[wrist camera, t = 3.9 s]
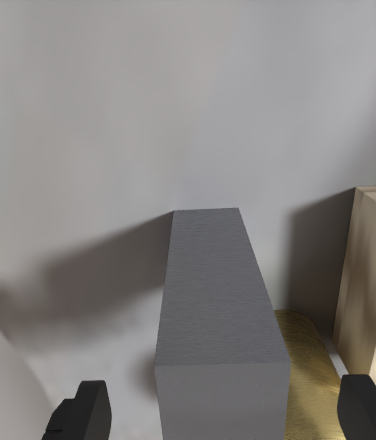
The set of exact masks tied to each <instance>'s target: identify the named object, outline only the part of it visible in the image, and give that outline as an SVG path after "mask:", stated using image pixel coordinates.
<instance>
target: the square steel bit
mask: <svg viewBox="0 0 376 440" xmlns="http://www.w3.org/2000/svg"><path fill="white" fill-rule="evenodd" d="M290 371H291V360H290V357H289V354H288V351H287V348H286V345H285V342H284V339H283V336H282V334H281V331H280V328H279V325H278V322H277V319H276V316H275V313H274V310H273V307H272V304H271V301H270V299H269V296H268V293H267V290H266V287H265V284H264V281H263V278H262V275H261V272H260V269H259V266H258V264H257V261H256V258H255V255H254V252H253V249H252V246H251V243H250V240H249V237H248V234H247V232H246V229H245V226H244V223H243V220H242V217H241V214H240V211H239V208H223V209H201V210H179V211H174V213H173V221H172V229H171V237H170V244H169V252H168V260H167V268H166V275H165V283H164V291H163V299H162V307H161V314H160V322H159V330H158V338H157V346H156V353H155V361H154V372H155V380H156V387H157V395H158V403H159V411H160V418H161V426H162V434H163V440H284V433H285V422H286V412H287V402H288V391H289V381H290Z"/></svg>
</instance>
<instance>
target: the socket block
mask: <svg viewBox="0 0 376 440" xmlns="http://www.w3.org/2000/svg"><path fill="white" fill-rule="evenodd" d="M332 342H333V344H334V346H335V348H336V350H337V352H338V354H339V356H340V358H341V360H342V362H343V363H344V365H345V367H346V369H347V371H348V373H349V374H368V375H369V376H370V377H371V378H372V380H373V382H374V383H375V385H376V186H368V187H356V189H355V196H354V202H353V208H352V215H351V221H350V227H349V234H348V240H347V246H346V253H345V259H344V266H343V272H342V278H341V285H340V291H339V297H338V304H337V310H336V316H335V323H334V329H333V335H332Z"/></svg>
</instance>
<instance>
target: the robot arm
mask: <svg viewBox="0 0 376 440" xmlns="http://www.w3.org/2000/svg"><path fill="white" fill-rule="evenodd" d="M337 415H338V420H339V424H340V427H341V429H342V431H343V434H344V436H345V439H346V440H376V385H375V383H374V382H373V380H372V378H371V377H370V376H369V375H368V374H348V375H343V376H342V379H341V385H340V391H339V397H338V402H337ZM111 419H112V414H111V407H110V402H109V397H108V392H107V387H106V383H105V381H104V380H96V381H82V382H81V383H80V385H79V388H78V390H77V393H76V396H75V398H74V399H64V400H63V401H62V403H61V404H60V405H59V406H58V407H57V409H56V410H55V411H54V412H53V413H52V416H51V418H50V421H49V423H48V425H47V428H46V432H45V434H44V435H43V437H42V440H108V438H109V434H110V429H111Z"/></svg>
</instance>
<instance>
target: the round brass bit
mask: <svg viewBox="0 0 376 440" xmlns="http://www.w3.org/2000/svg"><path fill="white" fill-rule="evenodd" d="M274 313H275V316H276V319H277V322H278V325H279V328H280V331H281V334H282V336H283V339H284V342H285V345H286V348H287V351H288V354H289V357H290V360H291V371H290V381H289V391H288V402H287V412H286V422H285V433H284V440H346V439H345V436H344V434H343V431H342V429H341V427H340V424H339V420H338V415H337V402H338V397H339V391H340V385H341V379H340V377H339V374H338V372H337V370H336V368H335V366H334V364H333V362H332V360H331V358H330V356H329V354H328V352H327V350H326V348H325V346H324V344H323V342H322V339H321V337H320V335H319V333H318V331H317V329H316V327H315V325H314V324H313V323H312V321H311V320H309V319H308V318H307V317H306V316H304V315H302V314H300V313H297V312H294V311H289V310H274Z"/></svg>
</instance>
